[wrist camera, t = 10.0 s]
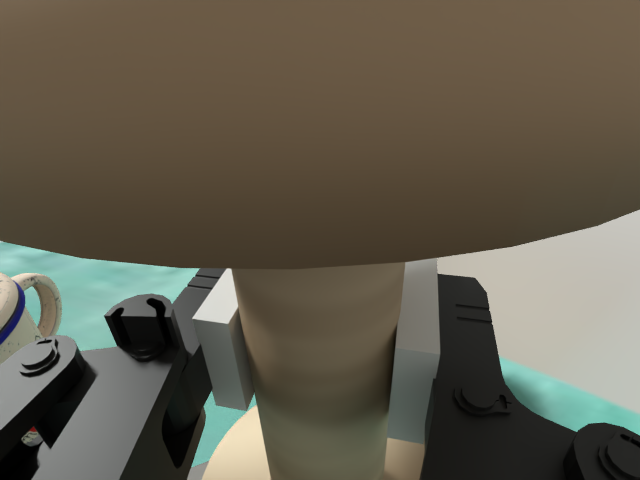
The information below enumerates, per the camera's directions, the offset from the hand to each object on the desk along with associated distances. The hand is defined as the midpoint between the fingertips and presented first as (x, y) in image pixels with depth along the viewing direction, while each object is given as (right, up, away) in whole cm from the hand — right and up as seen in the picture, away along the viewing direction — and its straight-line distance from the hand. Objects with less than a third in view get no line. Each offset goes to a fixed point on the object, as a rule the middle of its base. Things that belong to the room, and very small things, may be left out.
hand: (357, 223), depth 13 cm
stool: (-1, -9, 0) cm, 9 cm away
